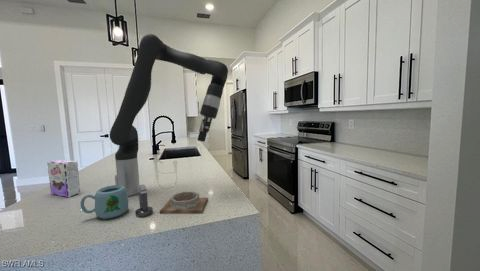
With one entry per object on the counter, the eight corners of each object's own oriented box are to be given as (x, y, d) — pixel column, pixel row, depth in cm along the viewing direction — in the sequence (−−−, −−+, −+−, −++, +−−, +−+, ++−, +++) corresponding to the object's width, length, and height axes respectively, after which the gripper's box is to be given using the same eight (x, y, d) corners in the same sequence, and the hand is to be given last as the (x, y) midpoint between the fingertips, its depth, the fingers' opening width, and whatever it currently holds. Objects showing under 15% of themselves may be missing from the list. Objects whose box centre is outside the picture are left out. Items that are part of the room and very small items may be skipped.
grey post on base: (133, 213, 80) (131, 185, 79) (149, 208, 84) (147, 182, 83) (138, 219, 75) (136, 189, 74) (155, 213, 79) (153, 185, 78)
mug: (80, 227, 71) (77, 199, 70) (83, 214, 80) (81, 189, 79) (130, 215, 78) (128, 189, 77) (128, 205, 88) (126, 181, 87)
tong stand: (159, 213, 79) (159, 202, 79) (171, 200, 91) (170, 191, 91) (201, 213, 79) (201, 202, 78) (207, 200, 90) (207, 190, 90)
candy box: (50, 194, 102) (46, 161, 101) (64, 190, 108) (60, 159, 106) (67, 198, 97) (63, 163, 96) (81, 193, 103) (77, 160, 101)
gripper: (200, 106, 101) (191, 138, 99) (204, 101, 87) (193, 138, 86) (215, 111, 103) (206, 142, 101) (221, 106, 89) (211, 143, 88)
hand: (200, 141), depth 93 cm, fingers open, 8 cm apart
